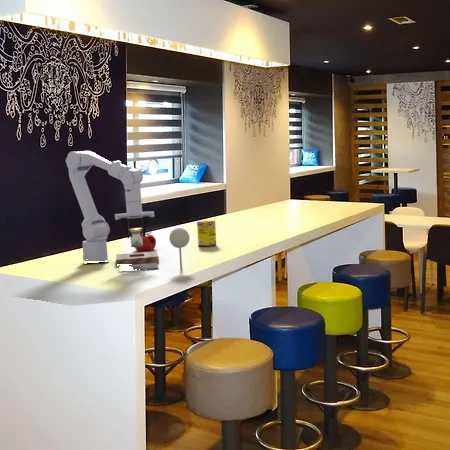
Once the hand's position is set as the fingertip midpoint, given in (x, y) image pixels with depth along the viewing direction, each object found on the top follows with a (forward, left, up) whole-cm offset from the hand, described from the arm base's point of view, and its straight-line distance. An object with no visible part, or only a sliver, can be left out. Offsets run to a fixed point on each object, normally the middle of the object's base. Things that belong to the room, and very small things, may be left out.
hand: (136, 237), depth 231 cm
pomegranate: (+4, +32, -11) cm, 34 cm away
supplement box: (+31, +31, -11) cm, 45 cm away
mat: (0, -7, -11) cm, 13 cm away
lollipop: (+15, -16, -11) cm, 24 cm away
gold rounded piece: (0, 0, -4) cm, 4 cm away
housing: (0, +6, -11) cm, 12 cm away
